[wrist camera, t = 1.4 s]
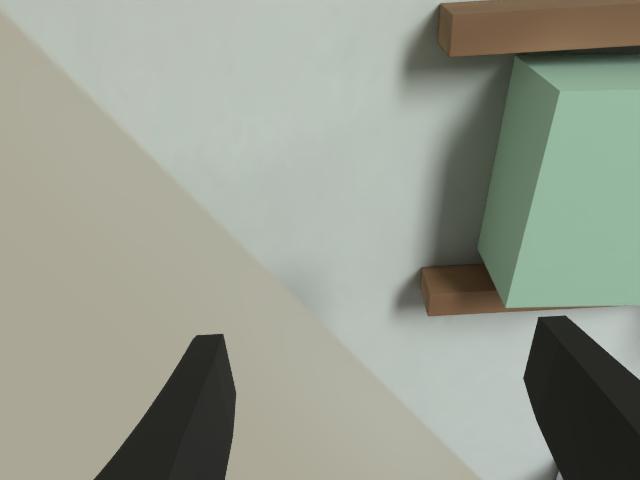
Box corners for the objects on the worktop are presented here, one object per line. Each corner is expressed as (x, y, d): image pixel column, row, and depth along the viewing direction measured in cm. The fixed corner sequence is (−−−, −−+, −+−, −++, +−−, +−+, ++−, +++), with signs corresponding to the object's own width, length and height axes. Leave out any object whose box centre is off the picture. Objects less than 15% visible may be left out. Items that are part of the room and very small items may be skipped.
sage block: (591, 243, 22) (641, 305, 19) (476, 245, 22) (505, 307, 19) (657, 51, 18) (737, 88, 15) (513, 53, 18) (560, 90, 14)
